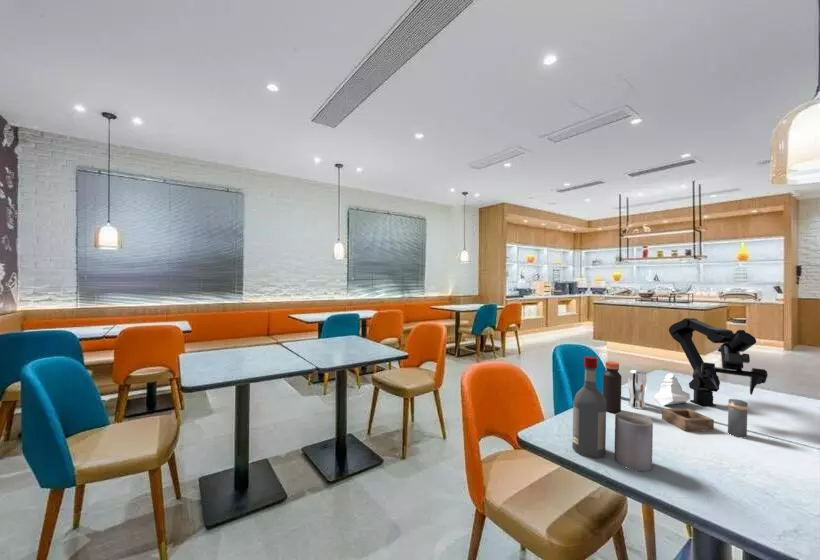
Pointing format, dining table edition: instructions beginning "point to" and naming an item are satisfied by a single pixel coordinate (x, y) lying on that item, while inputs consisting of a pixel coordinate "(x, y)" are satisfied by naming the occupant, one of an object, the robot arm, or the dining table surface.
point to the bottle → (612, 387)
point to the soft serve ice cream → (671, 392)
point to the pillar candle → (633, 441)
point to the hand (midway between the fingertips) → (734, 391)
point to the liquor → (589, 415)
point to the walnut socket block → (687, 419)
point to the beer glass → (637, 388)
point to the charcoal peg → (737, 417)
